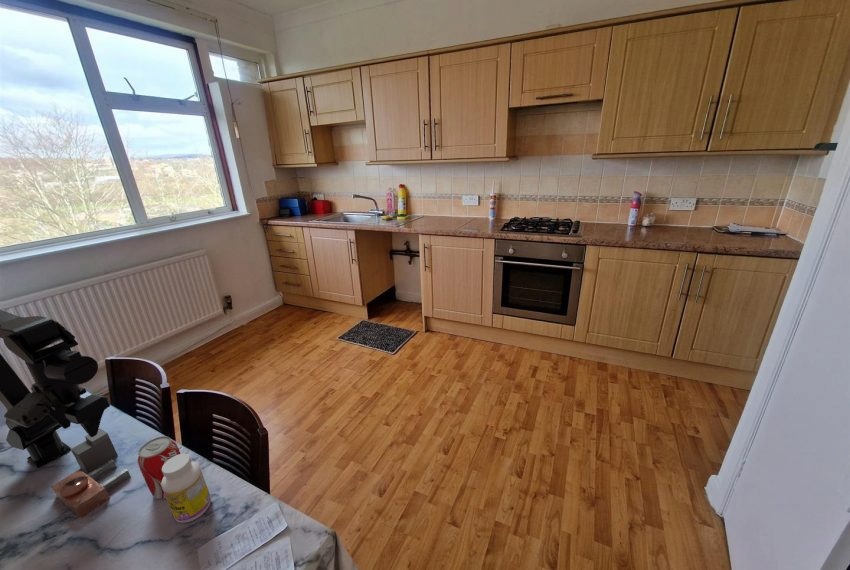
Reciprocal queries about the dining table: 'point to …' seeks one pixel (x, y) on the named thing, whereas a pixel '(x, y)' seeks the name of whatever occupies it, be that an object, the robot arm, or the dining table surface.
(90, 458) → the grey stepped block
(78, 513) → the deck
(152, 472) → the soda can
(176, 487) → the supplement bottle
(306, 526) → the dining table surface
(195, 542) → the dining table surface
